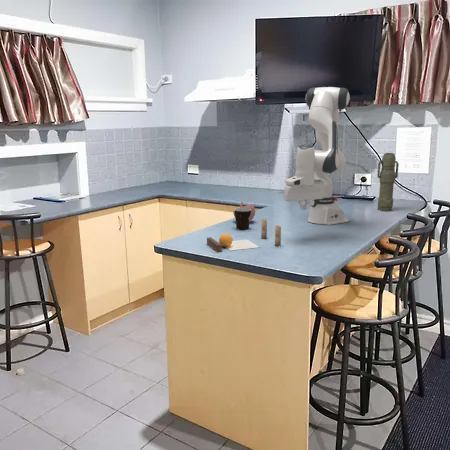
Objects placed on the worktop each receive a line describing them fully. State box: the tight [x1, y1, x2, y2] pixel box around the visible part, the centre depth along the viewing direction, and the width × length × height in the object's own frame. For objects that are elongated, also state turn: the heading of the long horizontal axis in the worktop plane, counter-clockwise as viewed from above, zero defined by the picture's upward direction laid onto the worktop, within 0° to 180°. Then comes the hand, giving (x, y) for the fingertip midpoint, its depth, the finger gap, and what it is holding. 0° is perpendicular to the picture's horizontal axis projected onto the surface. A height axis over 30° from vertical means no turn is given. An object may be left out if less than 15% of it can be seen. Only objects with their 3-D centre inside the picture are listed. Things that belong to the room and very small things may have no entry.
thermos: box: [376, 152, 400, 212], centre depth 286 cm, size 9×12×35 cm
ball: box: [218, 233, 234, 248], centre depth 208 cm, size 6×6×6 cm
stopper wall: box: [206, 236, 223, 253], centre depth 207 cm, size 2×14×3 cm, turn 21°
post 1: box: [260, 218, 268, 240], centre depth 223 cm, size 3×3×9 cm
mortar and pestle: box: [232, 201, 256, 222], centre depth 256 cm, size 12×12×12 cm
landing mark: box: [218, 239, 260, 252], centre depth 212 cm, size 14×14×1 cm
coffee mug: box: [234, 207, 251, 231], centre depth 240 cm, size 12×9×10 cm
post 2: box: [274, 225, 282, 247], centre depth 210 cm, size 3×3×9 cm
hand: (303, 209), depth 220 cm, fingers closed
